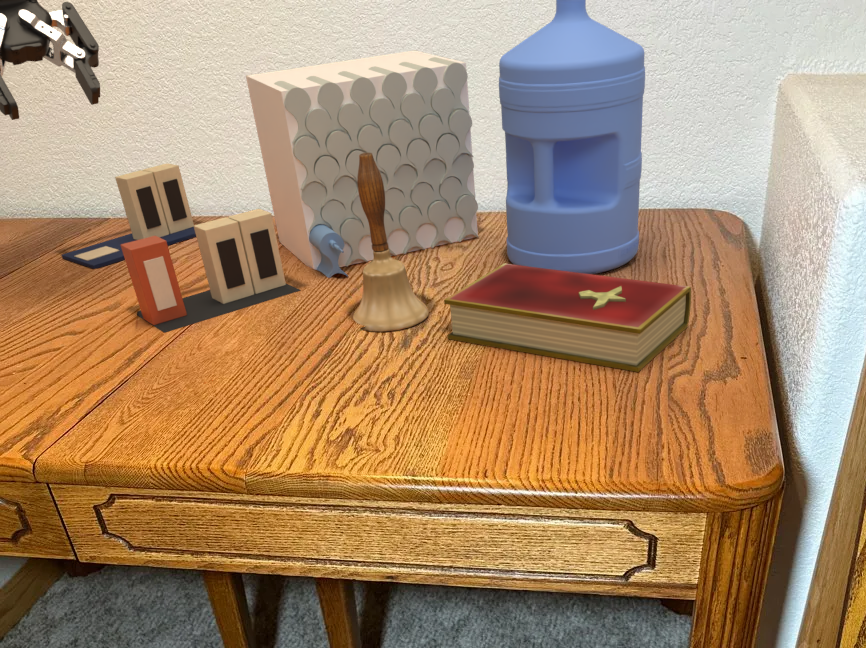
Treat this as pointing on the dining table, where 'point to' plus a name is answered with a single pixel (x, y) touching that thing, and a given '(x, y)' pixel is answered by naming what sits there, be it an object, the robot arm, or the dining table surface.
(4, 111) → the robot arm
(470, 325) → the hardcover book
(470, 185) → the scalloped white box
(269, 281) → the front word mat
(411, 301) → the hand bell
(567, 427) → the dining table surface
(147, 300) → the red rectangular block
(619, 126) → the water jug
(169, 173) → the mat
